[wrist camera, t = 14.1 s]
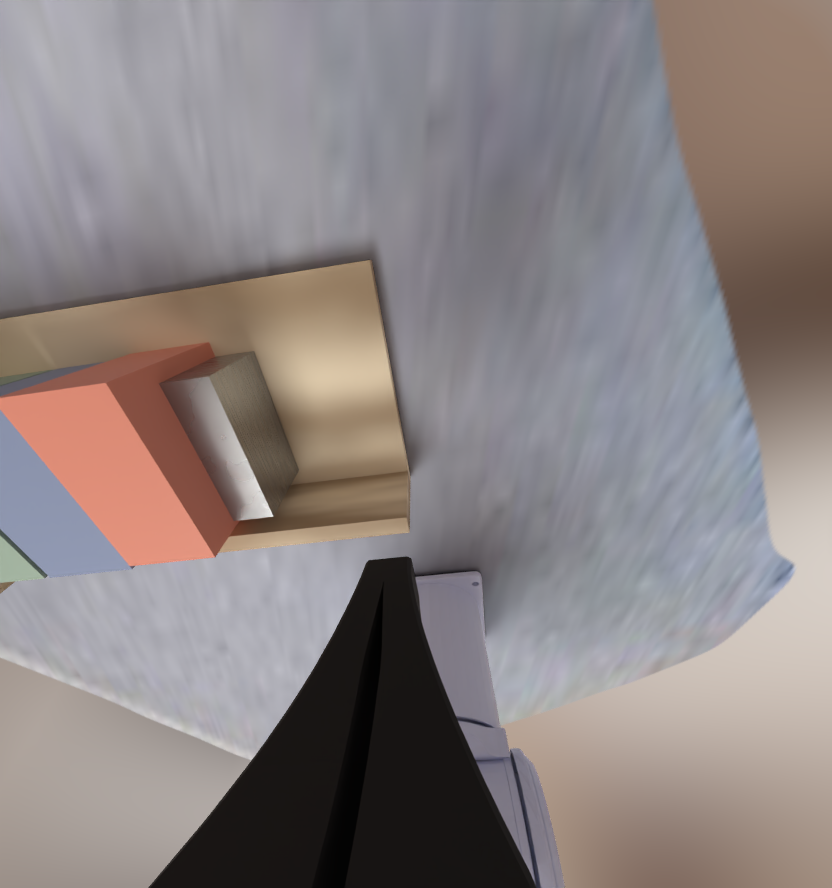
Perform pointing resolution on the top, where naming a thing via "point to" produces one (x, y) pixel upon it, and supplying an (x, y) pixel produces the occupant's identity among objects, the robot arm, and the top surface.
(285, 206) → the top surface
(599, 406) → the top surface
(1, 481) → the book
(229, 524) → the orange rectangular block
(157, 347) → the shelf
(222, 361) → the bookend
